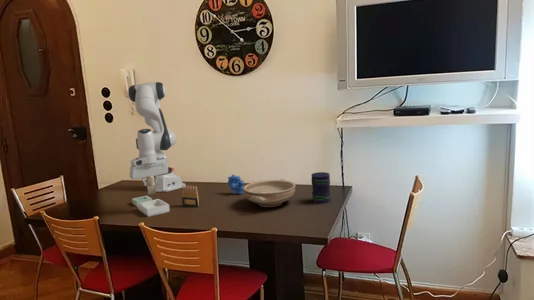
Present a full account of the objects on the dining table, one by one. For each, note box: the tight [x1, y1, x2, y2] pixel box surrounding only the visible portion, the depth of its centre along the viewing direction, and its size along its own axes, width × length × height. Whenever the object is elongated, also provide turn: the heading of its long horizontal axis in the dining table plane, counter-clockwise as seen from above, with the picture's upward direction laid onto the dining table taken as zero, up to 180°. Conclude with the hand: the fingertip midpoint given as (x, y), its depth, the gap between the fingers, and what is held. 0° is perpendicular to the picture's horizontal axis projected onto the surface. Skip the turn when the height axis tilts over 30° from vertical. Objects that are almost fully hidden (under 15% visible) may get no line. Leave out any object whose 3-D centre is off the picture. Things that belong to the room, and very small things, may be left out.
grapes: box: [227, 174, 245, 195], centre depth 251 cm, size 12×7×12 cm, turn 65°
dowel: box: [145, 176, 156, 196], centre depth 227 cm, size 4×4×10 cm
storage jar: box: [311, 171, 332, 205], centre depth 225 cm, size 10×10×15 cm
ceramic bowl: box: [242, 178, 296, 208], centre depth 228 cm, size 37×29×10 cm
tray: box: [137, 198, 171, 218], centre depth 229 cm, size 12×16×4 cm
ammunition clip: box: [181, 185, 201, 208], centre depth 233 cm, size 11×2×12 cm, turn 65°
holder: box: [131, 195, 153, 208], centre depth 246 cm, size 9×9×3 cm
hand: (150, 184), depth 227 cm, fingers closed on dowel, 4 cm apart
